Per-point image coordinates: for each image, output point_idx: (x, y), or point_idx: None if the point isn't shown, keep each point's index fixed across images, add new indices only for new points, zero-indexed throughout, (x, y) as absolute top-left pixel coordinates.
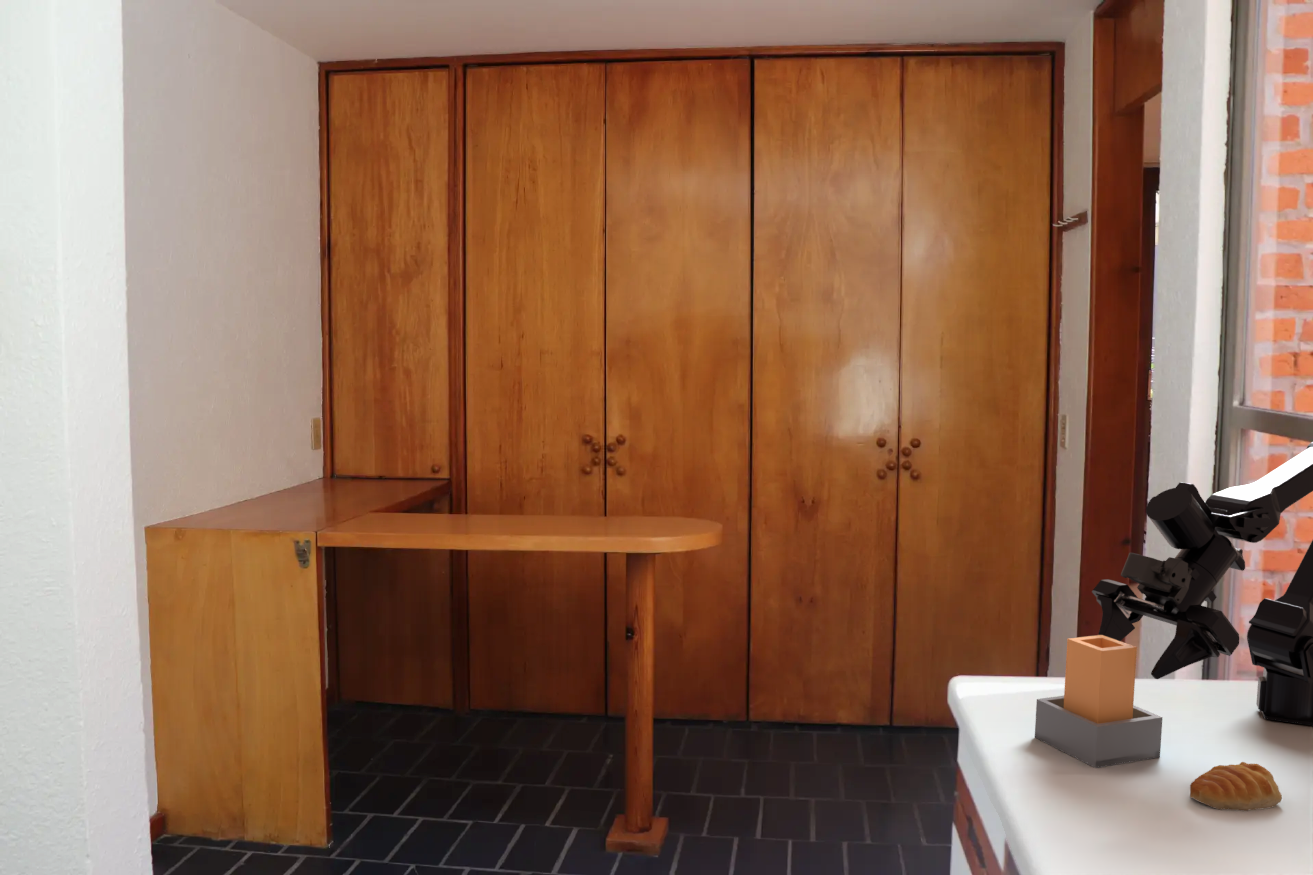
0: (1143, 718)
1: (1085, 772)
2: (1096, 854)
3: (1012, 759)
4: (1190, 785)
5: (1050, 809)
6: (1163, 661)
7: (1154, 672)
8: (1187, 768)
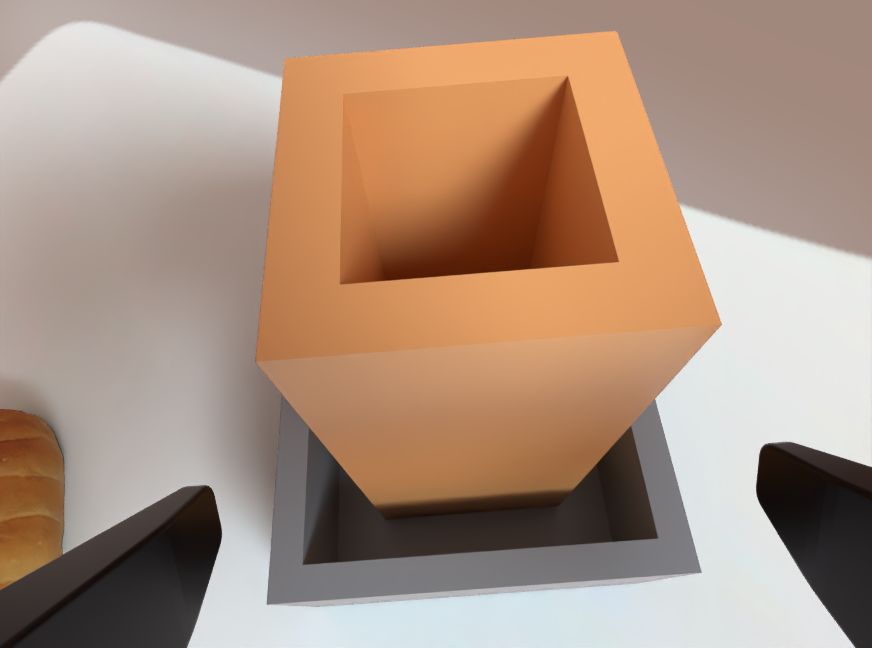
0: (290, 489)
1: None
2: (32, 88)
3: None
4: (36, 428)
5: (198, 111)
6: (81, 544)
7: (177, 492)
8: (200, 628)
